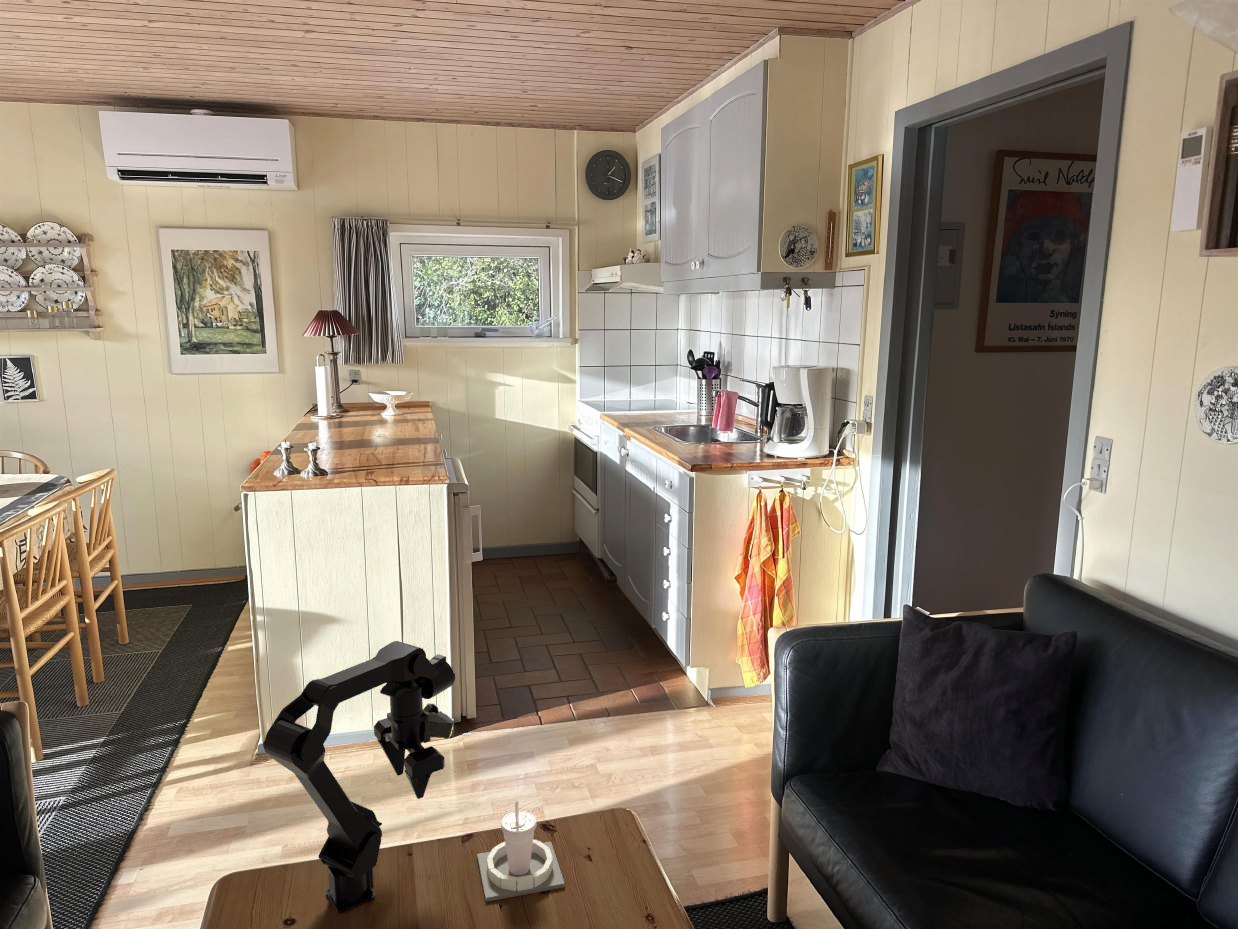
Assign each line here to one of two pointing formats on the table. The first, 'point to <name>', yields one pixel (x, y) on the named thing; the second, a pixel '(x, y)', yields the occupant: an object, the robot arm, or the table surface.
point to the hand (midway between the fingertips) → (409, 786)
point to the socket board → (506, 884)
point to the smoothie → (518, 839)
